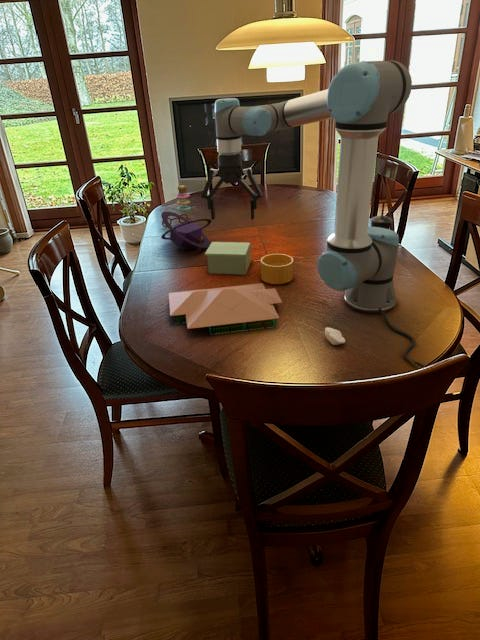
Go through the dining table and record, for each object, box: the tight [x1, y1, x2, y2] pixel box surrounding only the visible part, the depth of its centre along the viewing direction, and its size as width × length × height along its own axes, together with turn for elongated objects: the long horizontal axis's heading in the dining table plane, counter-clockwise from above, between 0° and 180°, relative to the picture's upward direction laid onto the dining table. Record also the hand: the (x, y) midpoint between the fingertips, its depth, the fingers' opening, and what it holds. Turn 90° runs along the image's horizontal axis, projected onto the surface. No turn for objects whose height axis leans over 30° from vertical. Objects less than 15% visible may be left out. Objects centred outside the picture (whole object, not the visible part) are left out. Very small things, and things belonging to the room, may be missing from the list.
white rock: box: [324, 326, 346, 346], centre depth 118 cm, size 7×5×4 cm
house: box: [168, 282, 283, 335], centre depth 132 cm, size 23×33×8 cm
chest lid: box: [204, 241, 251, 257], centre depth 160 cm, size 14×12×1 cm
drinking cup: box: [370, 201, 393, 230], centre depth 164 cm, size 8×8×20 cm
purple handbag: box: [160, 184, 212, 252], centre depth 175 cm, size 22×21×25 cm
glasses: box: [161, 213, 199, 228], centre depth 201 cm, size 13×13×5 cm
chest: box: [206, 245, 252, 276], centre depth 162 cm, size 14×12×7 cm
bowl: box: [260, 253, 295, 285], centre depth 152 cm, size 11×11×7 cm
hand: (233, 218), depth 151 cm, fingers open, 13 cm apart
